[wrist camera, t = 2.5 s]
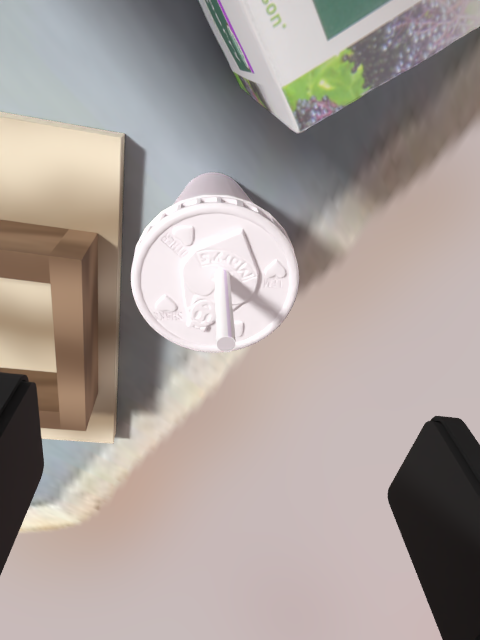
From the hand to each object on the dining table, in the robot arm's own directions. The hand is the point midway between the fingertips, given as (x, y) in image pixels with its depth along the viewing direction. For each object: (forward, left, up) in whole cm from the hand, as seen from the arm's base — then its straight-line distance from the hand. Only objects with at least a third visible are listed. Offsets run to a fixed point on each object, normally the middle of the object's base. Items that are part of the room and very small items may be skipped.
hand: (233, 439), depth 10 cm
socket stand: (+8, -12, -17) cm, 22 cm away
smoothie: (0, 0, -17) cm, 17 cm away
